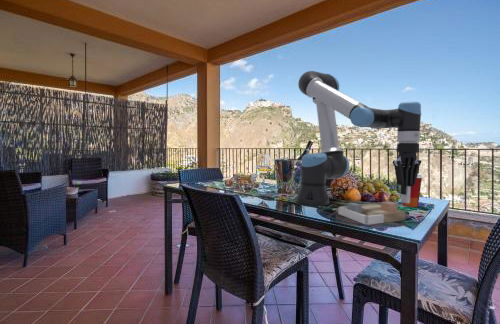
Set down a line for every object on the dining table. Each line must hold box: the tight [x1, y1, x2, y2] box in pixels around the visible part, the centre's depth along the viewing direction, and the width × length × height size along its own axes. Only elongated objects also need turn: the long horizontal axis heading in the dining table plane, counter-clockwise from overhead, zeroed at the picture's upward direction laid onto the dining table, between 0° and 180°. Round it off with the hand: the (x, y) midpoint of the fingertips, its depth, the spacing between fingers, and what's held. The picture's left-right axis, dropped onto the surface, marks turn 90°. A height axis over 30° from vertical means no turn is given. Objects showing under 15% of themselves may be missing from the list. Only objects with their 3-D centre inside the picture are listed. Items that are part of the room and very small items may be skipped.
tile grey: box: [347, 202, 362, 214], centre depth 107 cm, size 4×4×3 cm
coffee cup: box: [402, 173, 423, 208], centre depth 124 cm, size 8×8×15 cm
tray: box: [337, 205, 384, 226], centre depth 103 cm, size 15×8×3 cm, turn 21°
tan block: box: [380, 200, 399, 212], centre depth 104 cm, size 4×4×3 cm
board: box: [361, 202, 407, 224], centre depth 107 cm, size 15×11×3 cm
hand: (405, 202), depth 106 cm, fingers closed
